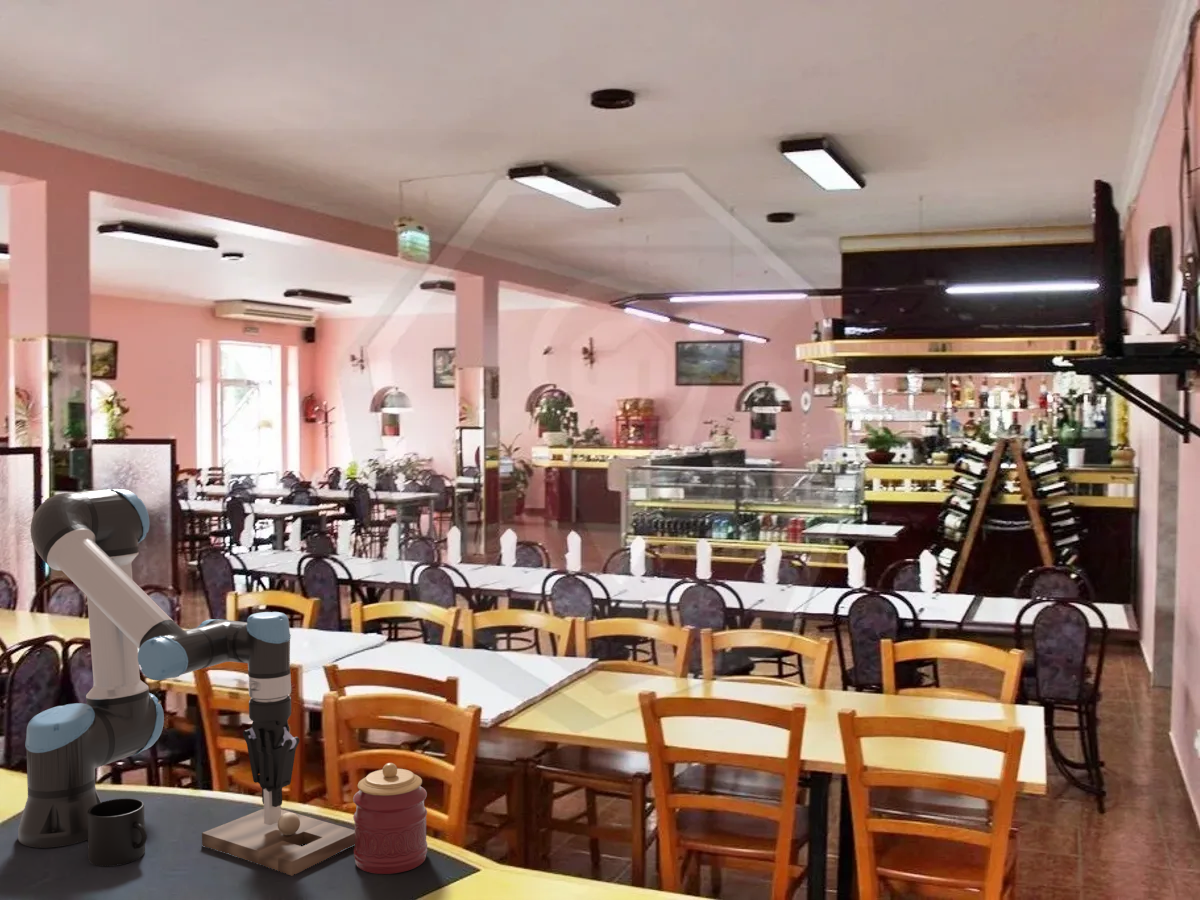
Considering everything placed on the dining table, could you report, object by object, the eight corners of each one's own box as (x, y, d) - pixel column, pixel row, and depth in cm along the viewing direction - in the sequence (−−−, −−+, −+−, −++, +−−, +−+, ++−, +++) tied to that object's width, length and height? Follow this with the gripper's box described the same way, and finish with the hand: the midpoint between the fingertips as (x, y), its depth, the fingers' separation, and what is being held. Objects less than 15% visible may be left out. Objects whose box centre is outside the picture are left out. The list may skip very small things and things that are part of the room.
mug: (124, 873, 193) (123, 822, 192) (76, 861, 198) (75, 812, 197) (167, 853, 201) (166, 804, 201) (119, 842, 206) (118, 795, 206)
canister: (439, 850, 202) (438, 755, 201) (406, 880, 190) (405, 778, 189) (376, 842, 206) (375, 749, 205) (339, 870, 194) (338, 771, 193)
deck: (202, 846, 204) (201, 832, 204) (270, 818, 218) (270, 806, 218) (292, 875, 192) (291, 861, 191) (358, 844, 205) (358, 831, 205)
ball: (291, 832, 200) (279, 842, 202) (307, 825, 204) (295, 834, 205) (281, 812, 201) (269, 822, 203) (298, 805, 205) (286, 815, 207)
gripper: (230, 696, 205) (232, 821, 206) (278, 706, 198) (281, 835, 199) (262, 687, 211) (264, 809, 212) (310, 696, 204) (312, 822, 205)
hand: (272, 821), depth 206 cm, fingers closed
